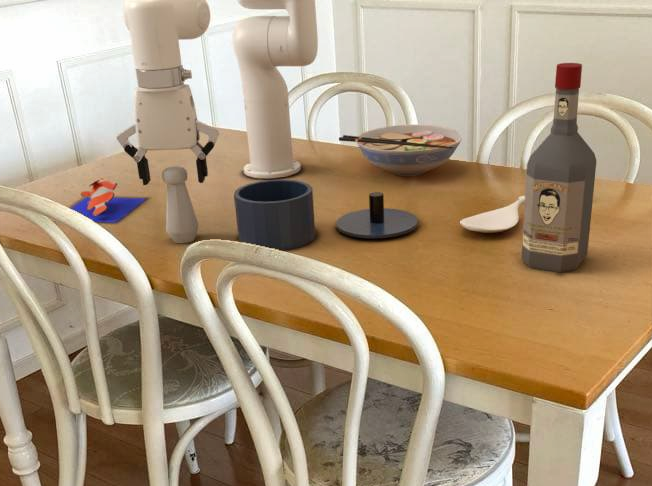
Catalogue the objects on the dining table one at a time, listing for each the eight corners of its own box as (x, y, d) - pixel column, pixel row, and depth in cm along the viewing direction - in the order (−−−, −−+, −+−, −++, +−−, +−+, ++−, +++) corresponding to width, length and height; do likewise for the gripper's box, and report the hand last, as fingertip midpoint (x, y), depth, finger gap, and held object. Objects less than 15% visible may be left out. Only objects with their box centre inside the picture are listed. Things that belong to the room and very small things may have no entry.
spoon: (591, 198, 168) (593, 180, 166) (490, 245, 149) (491, 225, 147) (551, 190, 174) (553, 172, 172) (449, 234, 155) (449, 215, 153)
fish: (90, 174, 179) (128, 174, 178) (94, 196, 182) (132, 197, 180) (59, 193, 168) (101, 193, 167) (65, 217, 171) (105, 218, 169)
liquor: (536, 247, 147) (549, 58, 132) (590, 255, 143) (610, 61, 128) (516, 266, 141) (527, 69, 125) (572, 275, 136) (591, 72, 121)
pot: (243, 226, 163) (238, 181, 159) (316, 223, 163) (313, 177, 159) (235, 252, 152) (230, 204, 147) (314, 249, 151) (310, 201, 147)
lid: (336, 216, 166) (335, 183, 163) (415, 212, 166) (414, 180, 163) (336, 243, 153) (334, 209, 150) (420, 239, 153) (420, 205, 150)
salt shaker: (169, 235, 161) (158, 164, 154) (200, 232, 161) (191, 162, 155) (166, 246, 156) (155, 173, 149) (198, 243, 156) (189, 171, 150)
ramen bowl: (482, 162, 193) (484, 124, 189) (442, 192, 176) (442, 151, 172) (380, 153, 203) (379, 117, 199) (333, 180, 186) (330, 141, 182)
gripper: (215, 72, 148) (226, 174, 156) (113, 77, 148) (129, 178, 156) (209, 80, 141) (221, 186, 149) (102, 85, 141) (120, 190, 150)
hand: (174, 181), depth 153 cm, fingers open, 9 cm apart
